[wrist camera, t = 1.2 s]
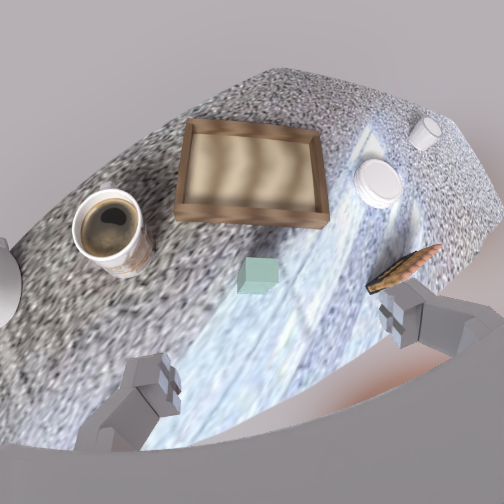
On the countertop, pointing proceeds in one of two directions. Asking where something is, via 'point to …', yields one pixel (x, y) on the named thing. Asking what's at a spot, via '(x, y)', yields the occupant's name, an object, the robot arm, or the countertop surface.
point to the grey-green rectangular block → (257, 275)
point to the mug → (113, 232)
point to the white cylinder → (425, 133)
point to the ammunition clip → (402, 269)
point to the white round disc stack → (378, 183)
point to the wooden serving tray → (251, 175)
